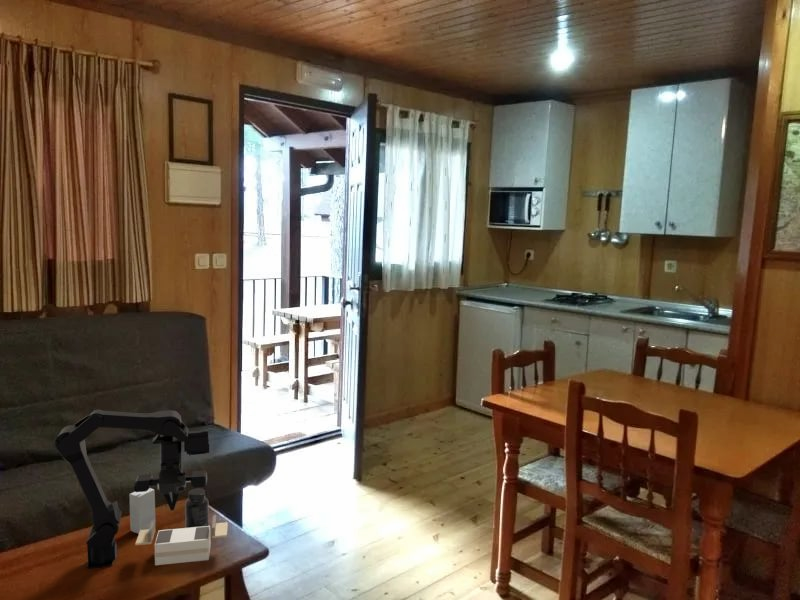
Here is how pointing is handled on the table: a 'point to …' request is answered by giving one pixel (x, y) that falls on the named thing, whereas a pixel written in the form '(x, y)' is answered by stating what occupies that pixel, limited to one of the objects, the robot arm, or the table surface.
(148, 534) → the flap near
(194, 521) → the supplement bottle
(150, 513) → the skincare box
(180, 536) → the carton
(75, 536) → the table surface
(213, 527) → the flap far
